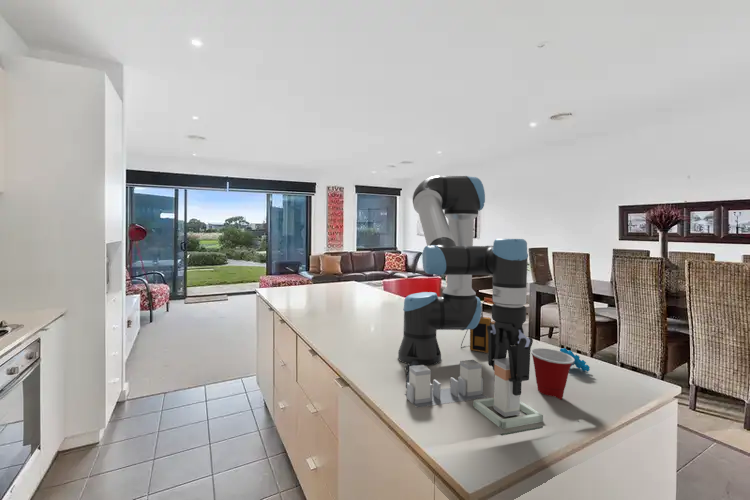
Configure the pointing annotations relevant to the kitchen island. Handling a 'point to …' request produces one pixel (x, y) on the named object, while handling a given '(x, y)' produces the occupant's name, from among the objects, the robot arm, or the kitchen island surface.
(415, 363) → the can opener
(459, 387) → the block
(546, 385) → the plastic cup
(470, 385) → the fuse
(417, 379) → the grey block
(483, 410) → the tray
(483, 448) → the kitchen island surface
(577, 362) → the blue knobby plastic piece
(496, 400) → the block
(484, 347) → the multimeter
